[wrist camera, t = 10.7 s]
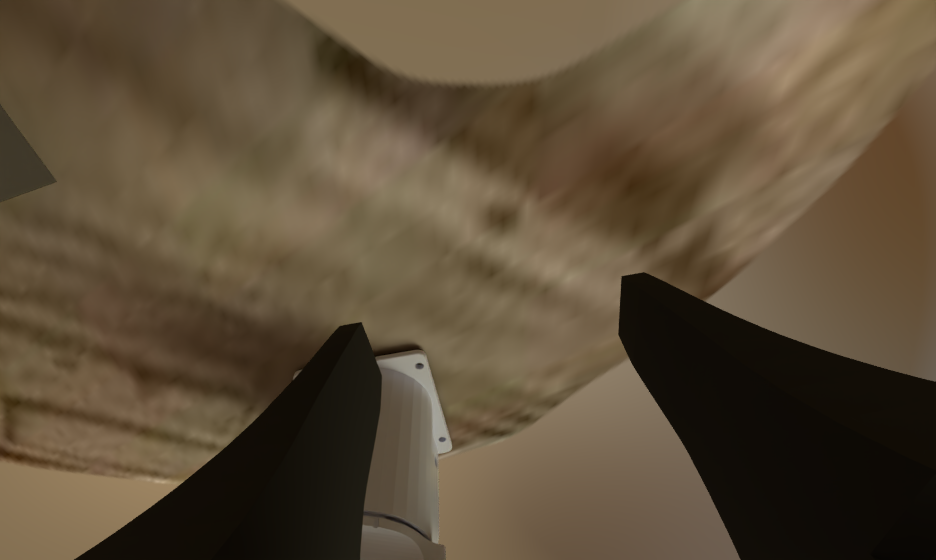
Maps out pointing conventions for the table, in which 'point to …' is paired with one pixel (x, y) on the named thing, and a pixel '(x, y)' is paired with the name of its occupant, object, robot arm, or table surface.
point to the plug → (18, 162)
